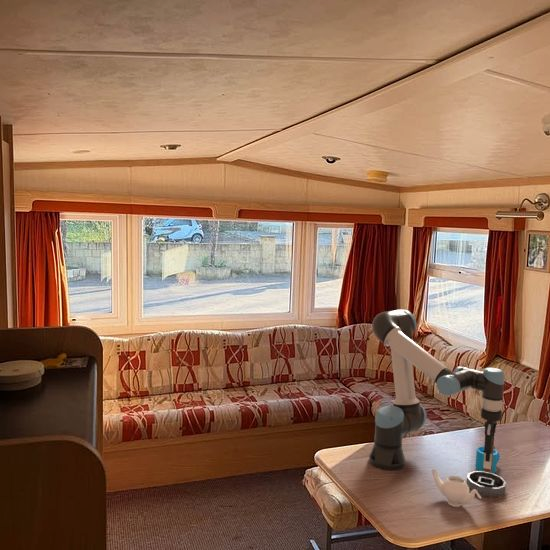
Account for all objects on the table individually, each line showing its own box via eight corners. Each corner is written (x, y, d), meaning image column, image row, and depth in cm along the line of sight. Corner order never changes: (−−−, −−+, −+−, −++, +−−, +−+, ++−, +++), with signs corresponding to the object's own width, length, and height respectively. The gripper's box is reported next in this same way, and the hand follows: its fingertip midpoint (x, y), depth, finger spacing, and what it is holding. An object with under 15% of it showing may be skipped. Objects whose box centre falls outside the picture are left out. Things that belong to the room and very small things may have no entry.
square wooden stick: (482, 471, 209) (485, 439, 208) (483, 468, 212) (486, 436, 211) (491, 473, 208) (493, 440, 207) (492, 470, 211) (494, 438, 209)
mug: (486, 475, 222) (488, 456, 221) (471, 466, 229) (472, 448, 228) (506, 469, 227) (507, 451, 226) (490, 461, 234) (491, 443, 234)
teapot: (473, 519, 188) (475, 494, 187) (423, 496, 203) (425, 473, 202) (486, 510, 194) (488, 486, 193) (437, 488, 209) (439, 466, 208)
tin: (464, 491, 208) (464, 482, 208) (469, 476, 220) (470, 468, 220) (503, 500, 201) (503, 492, 201) (506, 484, 214) (507, 476, 213)
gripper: (500, 416, 198) (495, 477, 201) (504, 404, 213) (500, 460, 215) (478, 413, 202) (474, 472, 204) (484, 400, 216) (480, 456, 219)
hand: (487, 466), depth 210 cm, fingers closed on square wooden stick, 3 cm apart
